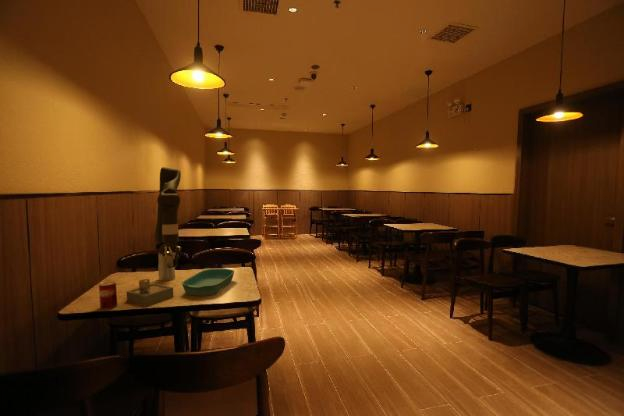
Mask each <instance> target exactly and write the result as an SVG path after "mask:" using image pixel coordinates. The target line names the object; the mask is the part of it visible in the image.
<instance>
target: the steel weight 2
mask: <svg viewBox="0 0 624 416" xmlns="http://www.w3.org/2000/svg"><path fill="white" fill-rule="evenodd" d="M166 263H167V268H174V267H175V268H177V267H178V266H173V257H172V255H171V254H169V255H166Z"/></svg>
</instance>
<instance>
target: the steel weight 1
mask: <svg viewBox="0 0 624 416" xmlns="http://www.w3.org/2000/svg"><path fill="white" fill-rule="evenodd" d="M150 280H151V279H150V278H149V279H148V278H145V279H139V280H138V288H139V293H148V292H150V285H151V284H150V283H151V281H150Z"/></svg>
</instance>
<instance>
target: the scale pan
mask: <svg viewBox="0 0 624 416" xmlns="http://www.w3.org/2000/svg"><path fill="white" fill-rule="evenodd" d="M164 289H167V288H163V287H159V286H154V285H153V286H150V292H148V293H139V290H137V291H133V292H136V293H139V294H143V295H148V294H151V293H154V292H158V291H161V290H164Z"/></svg>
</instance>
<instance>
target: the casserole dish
mask: <svg viewBox="0 0 624 416" xmlns="http://www.w3.org/2000/svg"><path fill="white" fill-rule="evenodd" d="M234 274H235V270H234V269H230V268H224V267H222V268H221V267H220V268H219V267H217V268H208V269H204V270H201V271H199V272H197V273H195V274H193V275H191V276H190V277H188V278H186V279H185V280H184V281H182V282H181V285H182V288H183V290H184V292H185V293H186V294H187V295H188V296H207V297H208V296H213V295H215V294H217V293H219V292H221V290H223V289H224V288H225V287H227V286H228V285H229V284H230V283H231V282H232V280H233V277H234Z"/></svg>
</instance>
